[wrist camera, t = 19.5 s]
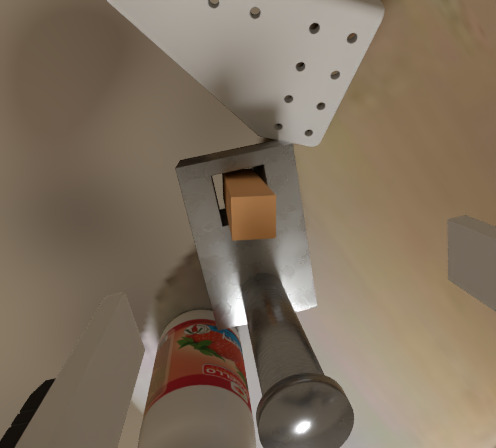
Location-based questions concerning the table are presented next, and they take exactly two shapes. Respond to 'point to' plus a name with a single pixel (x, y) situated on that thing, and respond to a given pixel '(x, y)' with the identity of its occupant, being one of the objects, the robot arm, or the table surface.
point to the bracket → (265, 55)
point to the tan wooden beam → (249, 205)
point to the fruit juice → (198, 388)
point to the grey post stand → (267, 296)
